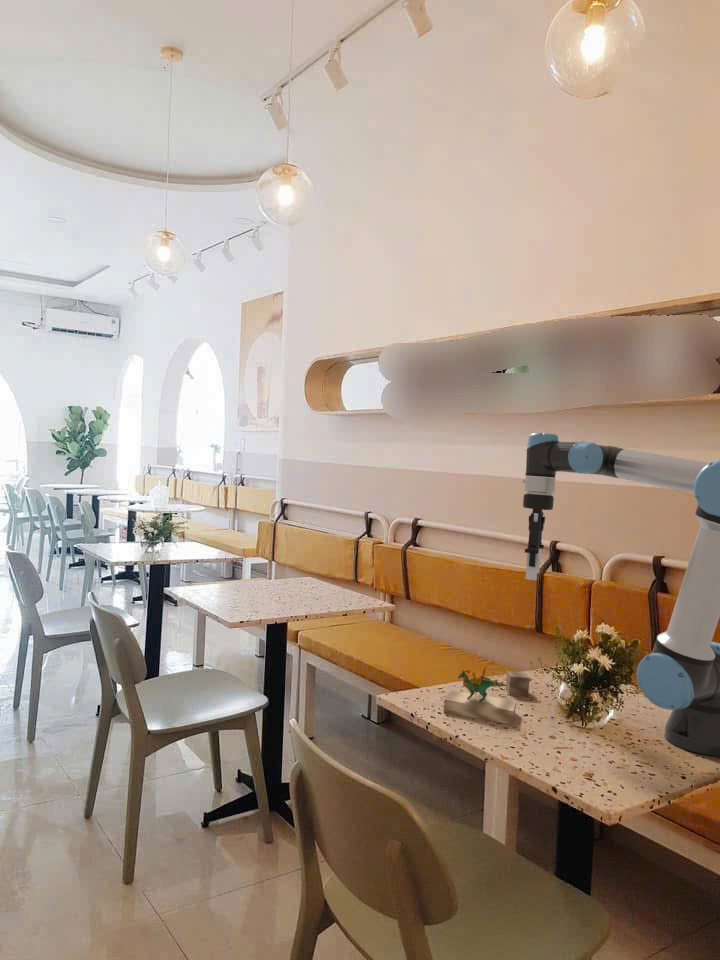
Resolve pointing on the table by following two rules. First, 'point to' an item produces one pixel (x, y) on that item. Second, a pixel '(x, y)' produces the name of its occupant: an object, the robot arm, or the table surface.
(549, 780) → the table surface
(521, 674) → the grey brown cube
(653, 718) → the table surface
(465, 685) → the figurine
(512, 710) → the beige rectangular block
